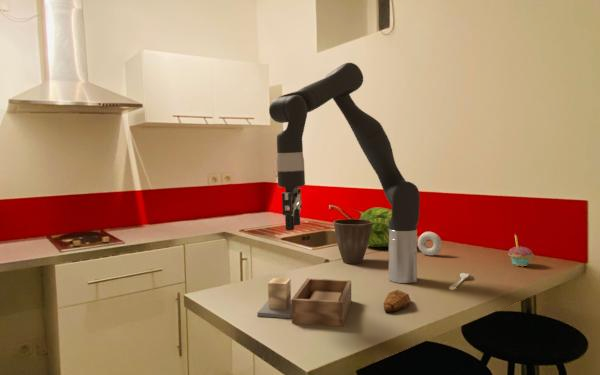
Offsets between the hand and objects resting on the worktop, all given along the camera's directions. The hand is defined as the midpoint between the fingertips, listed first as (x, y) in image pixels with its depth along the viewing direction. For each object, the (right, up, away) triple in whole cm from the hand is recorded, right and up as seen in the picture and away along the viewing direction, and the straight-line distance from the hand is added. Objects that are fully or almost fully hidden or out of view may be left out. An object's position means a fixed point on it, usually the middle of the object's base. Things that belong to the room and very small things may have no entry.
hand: (293, 227), depth 127 cm
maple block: (-4, -21, -1) cm, 22 cm away
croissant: (+29, -22, 0) cm, 36 cm away
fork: (+55, -21, +23) cm, 63 cm away
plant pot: (+23, -18, +53) cm, 60 cm away
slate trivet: (-4, -22, -2) cm, 23 cm away
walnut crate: (+8, -22, -3) cm, 24 cm away
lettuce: (+40, -16, +79) cm, 90 cm away
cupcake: (+84, -18, +43) cm, 96 cm away
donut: (+55, -17, +62) cm, 85 cm away
